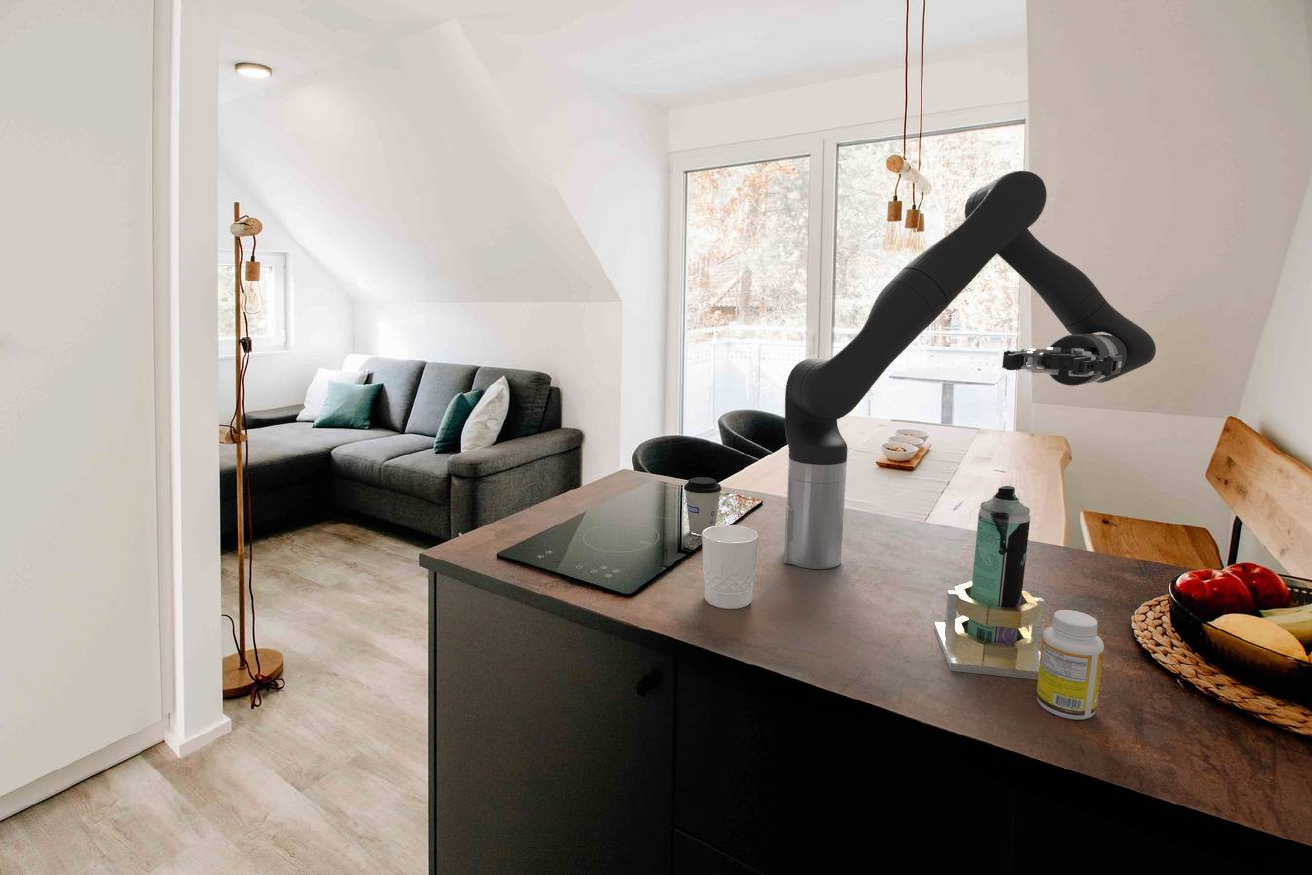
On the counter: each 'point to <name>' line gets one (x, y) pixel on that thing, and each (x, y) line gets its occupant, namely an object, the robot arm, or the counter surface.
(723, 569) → the white cup
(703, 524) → the coffee cup
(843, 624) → the counter surface
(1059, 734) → the counter surface
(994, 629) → the spray can
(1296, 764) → the counter surface
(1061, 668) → the supplement bottle
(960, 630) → the collar stand
